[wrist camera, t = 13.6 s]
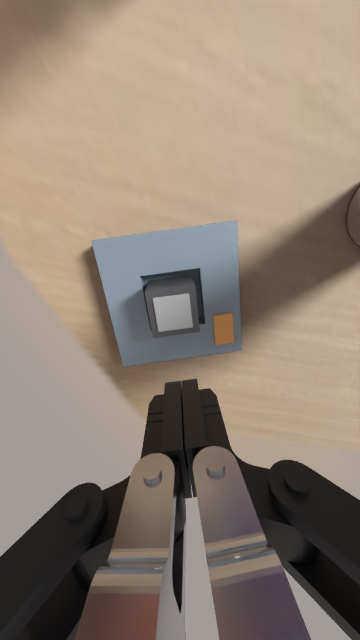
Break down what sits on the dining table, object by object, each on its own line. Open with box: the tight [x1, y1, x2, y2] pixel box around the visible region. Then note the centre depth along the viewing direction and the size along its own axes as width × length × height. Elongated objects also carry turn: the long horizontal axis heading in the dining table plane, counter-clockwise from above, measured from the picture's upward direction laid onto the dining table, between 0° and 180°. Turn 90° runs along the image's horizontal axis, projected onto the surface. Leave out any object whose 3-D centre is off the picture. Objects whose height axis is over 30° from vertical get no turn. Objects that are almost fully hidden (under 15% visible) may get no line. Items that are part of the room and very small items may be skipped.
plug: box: [145, 275, 200, 338], centre depth 25 cm, size 5×5×7 cm
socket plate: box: [91, 220, 242, 367], centre depth 27 cm, size 16×16×3 cm
